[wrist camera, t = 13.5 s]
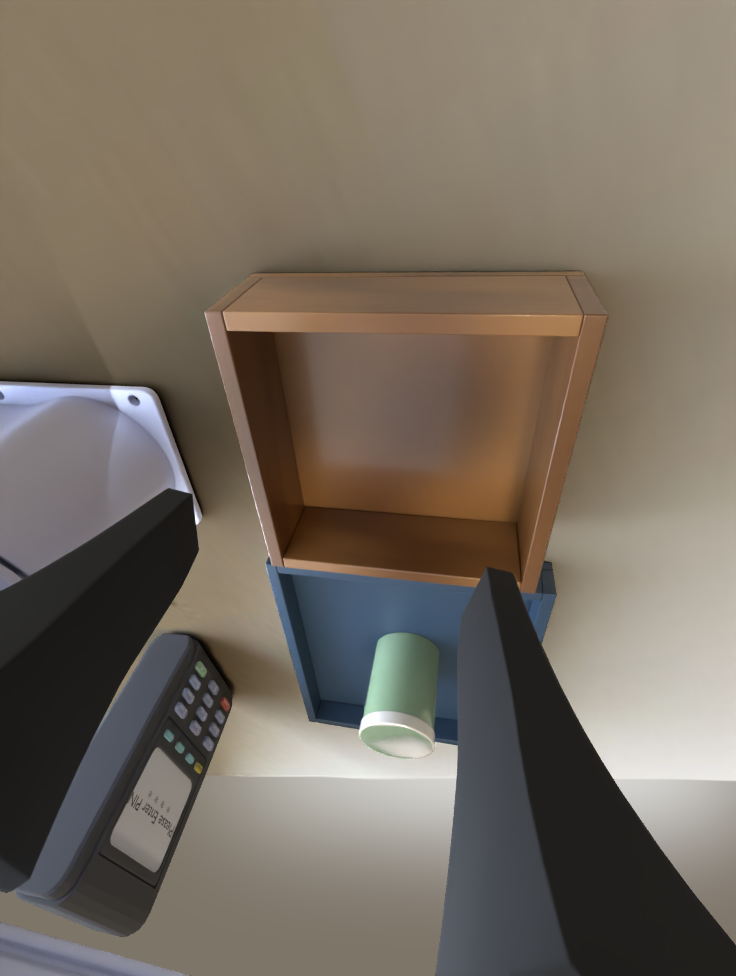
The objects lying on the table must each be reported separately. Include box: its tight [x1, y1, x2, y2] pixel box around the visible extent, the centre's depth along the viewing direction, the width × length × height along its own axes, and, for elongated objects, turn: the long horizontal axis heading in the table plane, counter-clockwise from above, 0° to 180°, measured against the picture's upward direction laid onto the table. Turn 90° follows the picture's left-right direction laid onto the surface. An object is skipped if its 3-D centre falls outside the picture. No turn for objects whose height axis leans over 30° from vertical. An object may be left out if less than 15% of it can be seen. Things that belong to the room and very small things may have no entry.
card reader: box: [15, 634, 233, 937], centre depth 31 cm, size 9×4×15 cm, turn 10°
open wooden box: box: [205, 271, 608, 594], centre depth 18 cm, size 11×11×4 cm
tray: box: [266, 556, 557, 745], centre depth 29 cm, size 14×17×2 cm
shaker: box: [359, 632, 440, 759], centre depth 28 cm, size 4×4×6 cm
